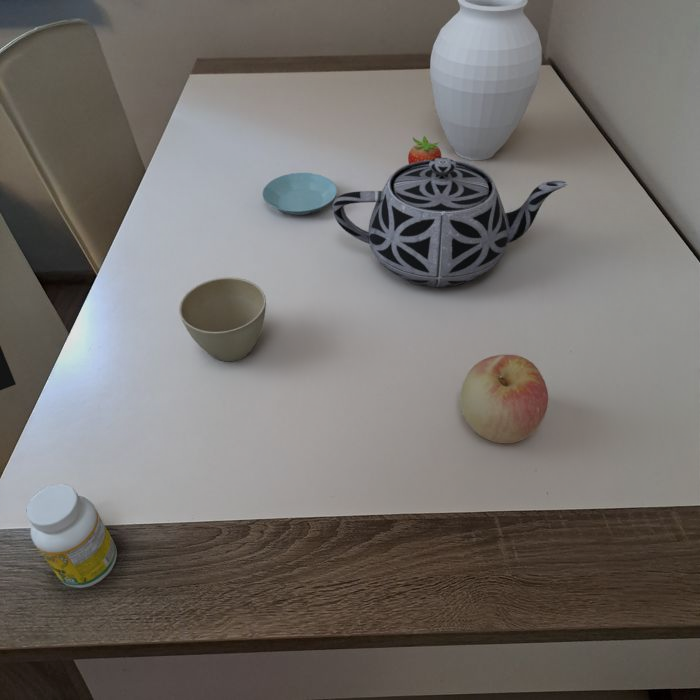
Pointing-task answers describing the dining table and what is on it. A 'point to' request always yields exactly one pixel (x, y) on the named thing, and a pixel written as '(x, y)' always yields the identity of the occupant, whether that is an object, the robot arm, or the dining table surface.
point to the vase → (484, 74)
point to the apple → (504, 398)
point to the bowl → (224, 316)
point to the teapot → (440, 221)
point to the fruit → (423, 151)
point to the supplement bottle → (71, 536)
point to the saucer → (299, 193)
